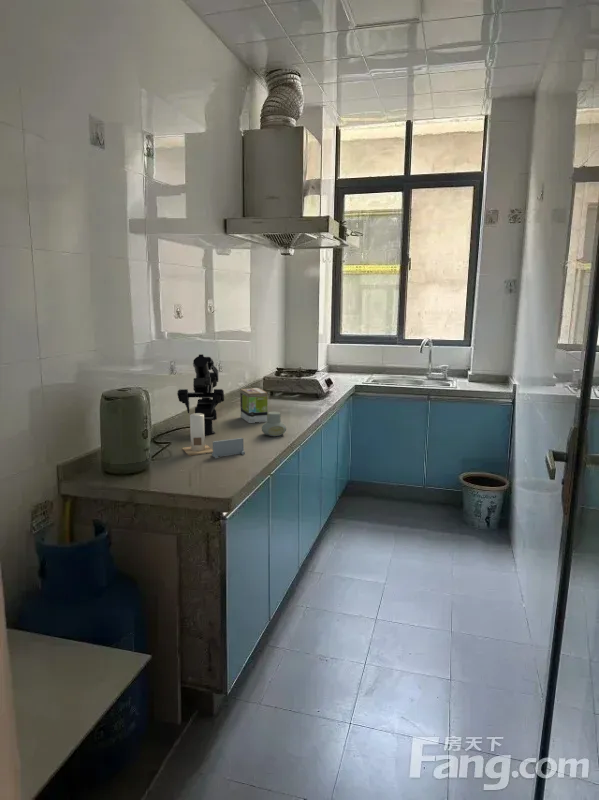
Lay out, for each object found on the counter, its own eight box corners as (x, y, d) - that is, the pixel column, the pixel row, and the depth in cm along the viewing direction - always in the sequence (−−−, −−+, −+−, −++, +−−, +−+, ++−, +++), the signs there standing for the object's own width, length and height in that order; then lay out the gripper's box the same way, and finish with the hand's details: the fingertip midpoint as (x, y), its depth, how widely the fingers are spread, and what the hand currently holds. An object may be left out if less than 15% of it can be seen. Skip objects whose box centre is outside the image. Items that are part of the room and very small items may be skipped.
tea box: (268, 422, 260) (268, 392, 257) (248, 423, 257) (247, 393, 254) (259, 415, 274) (258, 387, 271) (240, 417, 270) (239, 388, 267)
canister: (191, 447, 215) (190, 413, 212) (205, 446, 216) (204, 413, 213) (190, 451, 209) (189, 416, 206) (204, 451, 210) (204, 416, 207)
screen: (211, 455, 206) (211, 440, 205) (241, 451, 212) (241, 436, 210) (215, 458, 203) (214, 443, 202) (244, 454, 208) (244, 439, 207)
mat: (182, 449, 215) (182, 447, 215) (206, 446, 219) (206, 444, 219) (189, 455, 206) (189, 454, 206) (214, 452, 210) (214, 451, 210)
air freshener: (263, 438, 231) (263, 415, 229) (260, 433, 239) (259, 411, 237) (288, 436, 234) (288, 414, 232) (283, 431, 242) (283, 410, 240)
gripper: (177, 370, 220) (173, 401, 211) (222, 369, 221) (221, 401, 212) (181, 385, 229) (177, 416, 220) (225, 385, 230) (223, 416, 221)
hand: (199, 412), depth 218 cm, fingers open, 9 cm apart
